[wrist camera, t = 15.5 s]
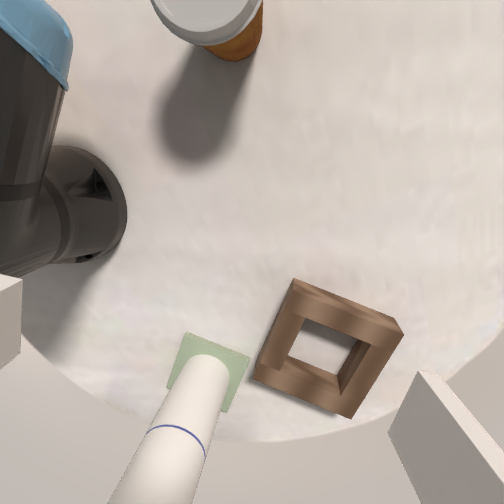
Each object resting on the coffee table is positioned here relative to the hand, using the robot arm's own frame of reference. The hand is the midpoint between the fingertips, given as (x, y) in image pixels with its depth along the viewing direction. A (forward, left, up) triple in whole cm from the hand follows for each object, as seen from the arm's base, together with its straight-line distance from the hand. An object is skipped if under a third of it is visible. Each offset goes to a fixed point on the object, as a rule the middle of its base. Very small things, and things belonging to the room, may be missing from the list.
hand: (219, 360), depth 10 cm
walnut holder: (+12, -14, -30) cm, 35 cm away
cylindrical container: (-1, -26, -29) cm, 39 cm away
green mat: (-1, -26, -30) cm, 40 cm away
